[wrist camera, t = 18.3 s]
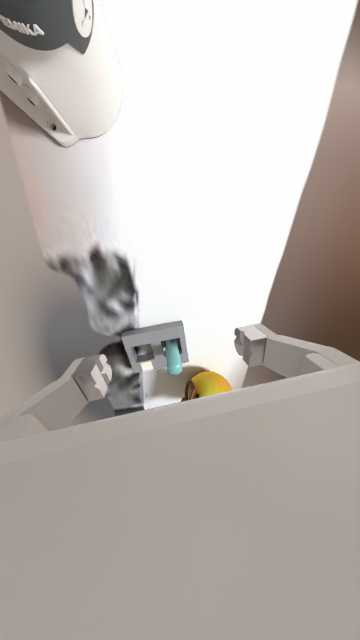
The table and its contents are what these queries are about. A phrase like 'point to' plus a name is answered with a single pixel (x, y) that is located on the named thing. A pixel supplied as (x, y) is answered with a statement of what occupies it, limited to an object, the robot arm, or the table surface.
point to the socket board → (153, 345)
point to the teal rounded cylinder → (173, 357)
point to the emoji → (205, 385)
